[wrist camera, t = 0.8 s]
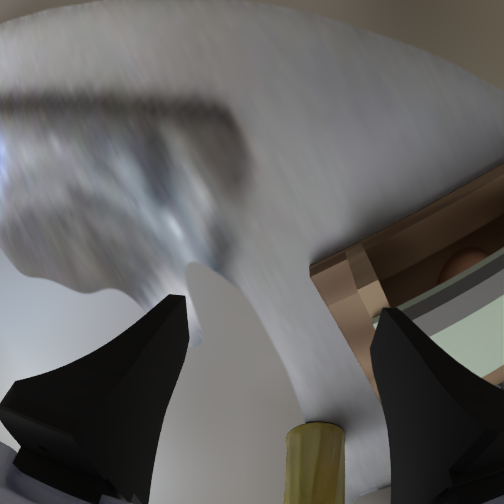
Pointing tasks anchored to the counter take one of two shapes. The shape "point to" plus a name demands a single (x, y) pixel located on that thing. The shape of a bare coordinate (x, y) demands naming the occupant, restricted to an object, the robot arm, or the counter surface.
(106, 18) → the counter surface
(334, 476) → the vase
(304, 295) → the counter surface
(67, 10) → the counter surface
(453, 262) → the tan rounded cylinder
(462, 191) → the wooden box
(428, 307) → the cover
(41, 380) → the robot arm
